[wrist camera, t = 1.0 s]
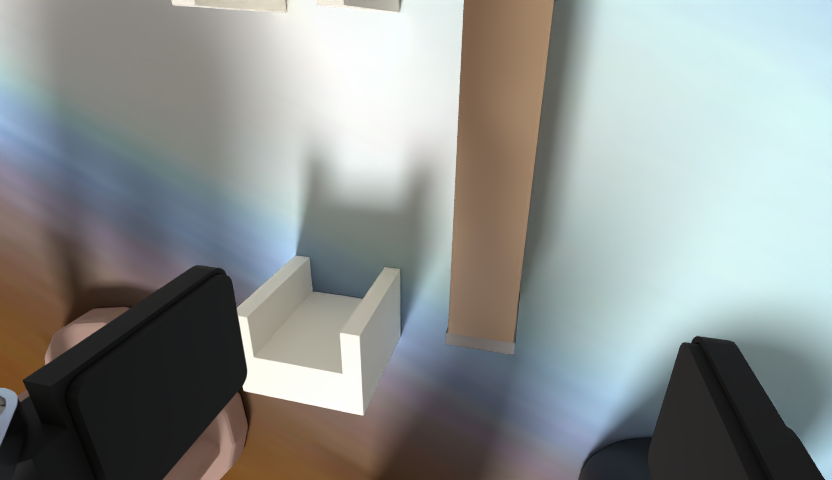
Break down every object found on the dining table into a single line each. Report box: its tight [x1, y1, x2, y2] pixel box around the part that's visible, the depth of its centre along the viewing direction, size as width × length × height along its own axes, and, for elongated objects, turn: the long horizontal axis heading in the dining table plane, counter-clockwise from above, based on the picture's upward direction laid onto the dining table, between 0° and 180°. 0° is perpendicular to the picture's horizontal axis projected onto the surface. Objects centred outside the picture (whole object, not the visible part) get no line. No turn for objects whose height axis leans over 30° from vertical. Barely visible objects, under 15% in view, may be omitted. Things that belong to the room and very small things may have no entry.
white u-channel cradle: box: [172, 0, 401, 415], centre depth 23 cm, size 7×24×7 cm, turn 0°
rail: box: [446, 0, 555, 355], centre depth 22 cm, size 3×16×5 cm, turn 0°
